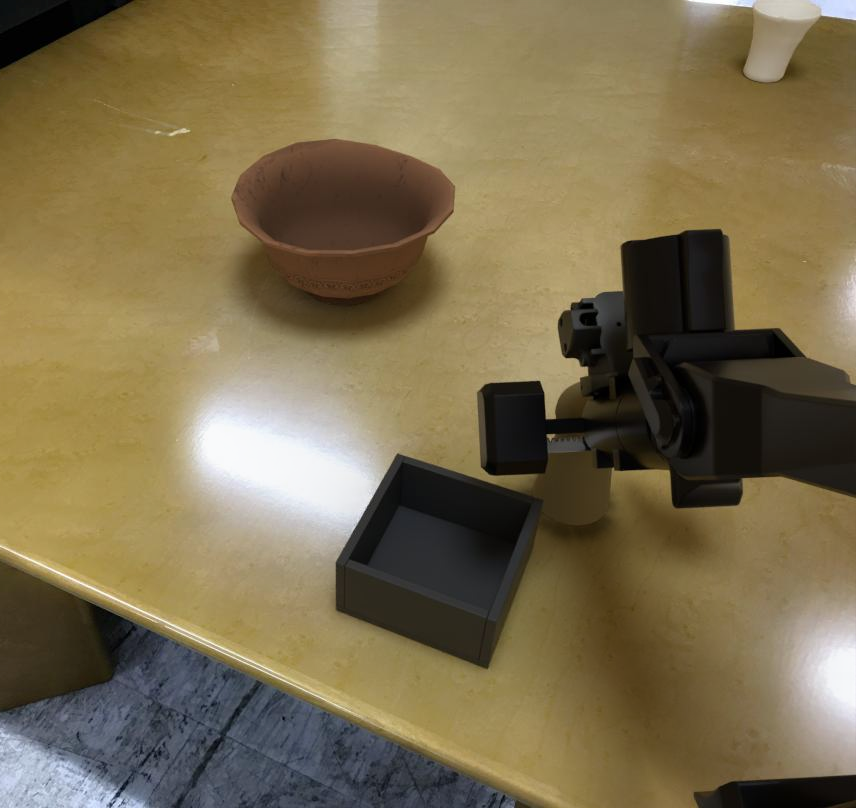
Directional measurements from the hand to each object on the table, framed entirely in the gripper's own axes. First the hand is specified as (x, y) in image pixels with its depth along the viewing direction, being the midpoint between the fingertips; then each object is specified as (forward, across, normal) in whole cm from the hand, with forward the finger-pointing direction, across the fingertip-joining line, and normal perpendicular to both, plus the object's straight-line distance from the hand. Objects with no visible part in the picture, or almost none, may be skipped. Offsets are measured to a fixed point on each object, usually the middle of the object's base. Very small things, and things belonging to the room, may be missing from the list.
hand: (581, 425), depth 69 cm
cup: (+60, -49, -49) cm, 91 cm away
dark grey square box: (-1, +12, +11) cm, 16 cm away
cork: (+4, 0, +6) cm, 7 cm away
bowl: (+26, +16, -16) cm, 35 cm away
